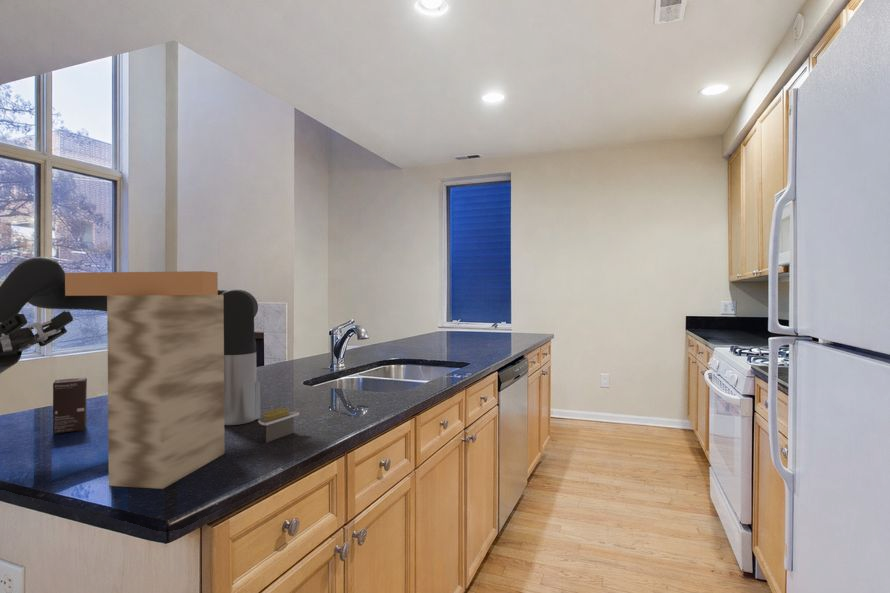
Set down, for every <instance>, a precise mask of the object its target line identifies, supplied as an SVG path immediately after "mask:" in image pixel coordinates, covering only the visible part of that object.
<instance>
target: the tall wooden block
mask: <svg viewBox="0 0 890 593" xmlns="http://www.w3.org/2000/svg"><path fill="white" fill-rule="evenodd" d="M106 314H107V315H106V318H107V322H106V323H107V325H106V326H107V327H106V328H107V333H106V334H107V419H108V421H107V425H108V426H107V427H108V428H107V430H108V432H107V434H108V435H107V437H108V438H107V440H108V446H107V447H108V452H107V453H108V486H109V487H127V488H142V489H158V490H159V489H161V490H163V489H165V488H167V487H169V486H171V485H172V484H174V483H176V482H178V481H179V480H180V479H183V478H184V477H186V476H188V475H190V474H191V473H193V472H195V471H197V470H199V469H200V468H202V467H203V466H205V465H207V464H209V463H210V462H212V461H214V460H216V459H217V458H219V457H221V456H223V455H224V454H226V453H225V452H226V450H225V449H226V448H225V442H226V441H225V425H224V298H223V295H114V296H107V312H106Z"/></svg>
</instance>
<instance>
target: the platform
mask: <svg viewBox="0 0 890 593" xmlns="http://www.w3.org/2000/svg"><path fill="white" fill-rule="evenodd" d="M289 409H290V407H286V408H284V406H281V407H277V408H275V409H274V408H273V409H272V410H267V411H264V412H263V417H262V418H261V417H260V418H259V419H257V420H258V421H257V422H258V424H260V425H261V426H265V442H266V443H269V442H272V441H275V440H277V439H281V438H282V437H283V438H284V437H286V436H289V435H291V434H294V433H295V432H294V431H295V430H294V428H295V427H294V426H295V424H294V420H295V419H294V417H296V416H300V412H299V411H289Z"/></svg>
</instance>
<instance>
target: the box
mask: <svg viewBox="0 0 890 593" xmlns="http://www.w3.org/2000/svg"><path fill="white" fill-rule="evenodd" d="M87 381H88V379H87V377H78V378H67V379H66V378H64V379H55V380H54V382H53V383H52V434H53V435H57V434H62V433H69V432H77V431H85V430H86V427H87V395H88V394H87V389H88V388H87V385H88V383H87Z"/></svg>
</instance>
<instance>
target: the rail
mask: <svg viewBox="0 0 890 593" xmlns="http://www.w3.org/2000/svg"><path fill="white" fill-rule="evenodd" d="M218 277H219V276H218V272H216V271H206V270H205V271H201V270H199V271H196V270H195V271H193V270H192V271H187V270H186V271H121V272H120V271H117V272H116V271H112V272H109V271H107V272H105V271H104V272H103V271H102V272H100V271H99V272H91V271H90V272H65V296H111V295H218V290H219V286H218V284H219V283H218V280H219V278H218Z"/></svg>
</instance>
